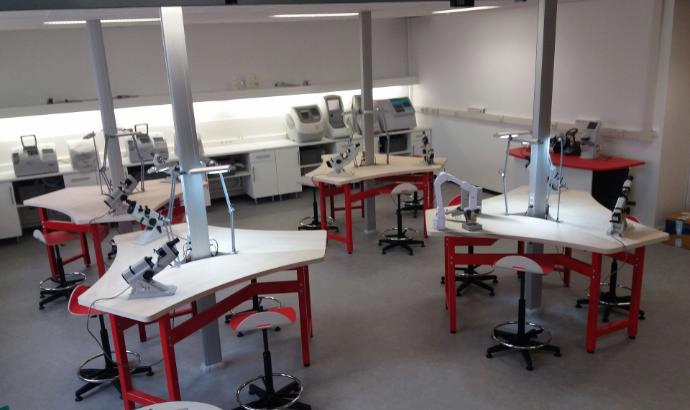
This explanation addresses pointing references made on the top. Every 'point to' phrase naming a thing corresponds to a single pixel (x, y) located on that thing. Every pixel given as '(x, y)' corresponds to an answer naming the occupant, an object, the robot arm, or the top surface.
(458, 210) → the gun
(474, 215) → the walnut block
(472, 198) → the robot arm
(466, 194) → the grey upright panel
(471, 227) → the tray
